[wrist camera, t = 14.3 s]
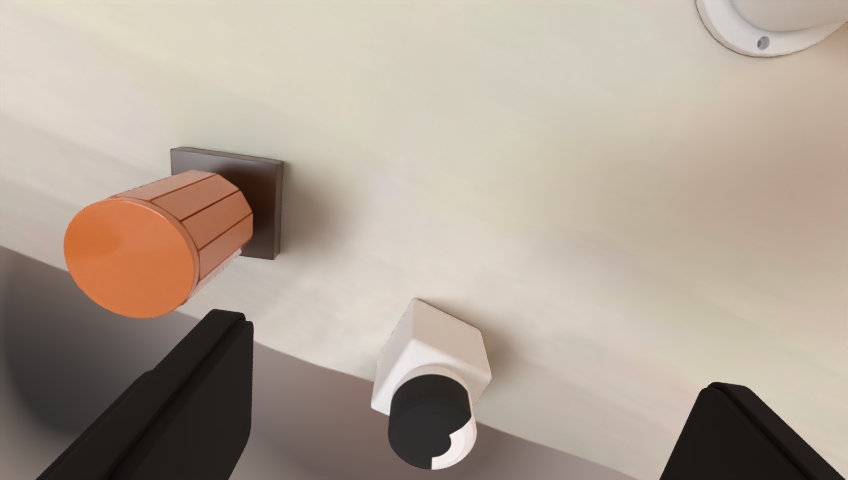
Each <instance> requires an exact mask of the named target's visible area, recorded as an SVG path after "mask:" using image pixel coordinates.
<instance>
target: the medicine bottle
mask: <svg viewBox="0 0 848 480" xmlns="http://www.w3.org/2000/svg"><path fill="white" fill-rule="evenodd" d="M491 379H492V375H491V371H490V367H489V363H488V359H487V355H486V351H485V347H484V343H483V339H482V336H481V332H480V330H479V329H477V328H475V327H473V326H471V325H468V324H466V323H464V322H462V321H460V320H458V319H456V318H454V317H452V316H450V315H448V314H446V313H444V312H442V311H440V310H438V309H436V308H434V307H432V306H430V305H428V304H426V303H424V302H422V301H420V300H418V299H413V300H412V301H411V303H410V304H409V306H408V308H407V309H406V311H405V313H404V314H403V316H402V318H401V319H400V321H399V323H398V324H397V326H396V328H395V329H394V331H393V333H392V334H391V336H390V338H389V339H388V341H387V343H386V344H385V346H384V348H383V349H382V351H381V353H380V354H379V357H378V363H377V369H376V375H375V382H374V388H373V395H372V401H371V407H372V408H373V409H375V410H377V411H379V412H382V413H384V414H386V415H388V416H389V427H388V438H389V442H390V445H391V447H392V449H393V450H394V452H395V453H396V454H397V455H398V456H399V457H400V458H401V459H403V460H404V461H405V462H407V463H409V464H410V465H412V466H415V467H418V468H423V469H442V468H446V467H448V466H451V465H453V464H455V463H457V462H459V461H460V460H462V459H463V458H464V457H465V456H466V455H467V454H468V453H469V452H470V450H471V449H472V447H473V445H474V443H475V440H476V433H477V430H476V424H475V418H474V412H473V405H474V404H475V402H476V401H477V399H478V398H479V397H480V395H481V394H482V392H483V391H484V389H485V388H486V387H487V385H488V384H489V382H490V381H491Z"/></svg>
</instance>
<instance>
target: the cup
mask: <svg viewBox="0 0 848 480" xmlns="http://www.w3.org/2000/svg"><path fill="white" fill-rule="evenodd" d="M238 190H239V188H237V187H236V186H234V185H233V184H232V183H230V182H229V181H227V180H226V179H224V178H223V177H221V176H220V175H219V174H218V175H216V173H210V172H203V171H195V170H191V171H190V170H189V171H186V172H183V173H180V174H177V175H174V176H171V177H168V178H165V179H162V180H159V181H156V182H153V183H150V184H147V185H144V186H141V187H138V188H135V189H132V190H129V191H126V192H122V193H119V194H116V195H113V196H111V197H109V198H106V199H104V200H102V201H99V202H96V203H93V204H91V205H89V206H87V207H85V208H84V209H82V210H81V211H80V212H79V213H78V214H77V215H76V216H75V217H74V218H73V219H72V221H71V222H70V224H69V226H68V228H67V230H66V234H65V237H64V256H65V261H66V264H67V267H68V269H69V271H70V273H71V275H72V277H73V279H74V280H75V282H76V283H77V285H78V286H79V287H80V288H81V289H82V291H83V292H84V293H85V294H86V295H87V296H88V297H90V298H91V299H92V300H93V301H95V302H96V303H98V304H99V305H101V306H102V307H104V308H106V309H108V310H110V311H112V312H115V313H117V314H120V315H124V316H129V317H134V318H152V317H157V316H161V315H164V314H167V313H169V312H171V311H173V310H174V309H176V308H177V307H179V306H181V305H183V304H185V303H186V302H187V301H188V300H189V299H190V298H192V297H193V296H194V295H195V294H196V293H197V292H198V291H199V290H201V289H202V288H203V287H204V286H205V285H206V284H207V283H208V282H209V281H211V280H212V279H213V278H214V277H215V276H216V275H217V274H218V273H220V272H221V271H222V270H223V269H224V268H225V267H226V266H227V265H229V264H230V263H231V262H232V261H233V260H234V259H235V258H236V257H237V256H239V255H240V254H241V252H242V251H243V249H244V248H245V247H246V245H247V244H248V242H249V241H250V239H251V238H252V237H251V236H252V235H253V214H252V213H251V212H252V210H251V208H250V206H249V205H248V203H247V201H246V199H245V197H244V196H243V194H242V192H241V191H238Z"/></svg>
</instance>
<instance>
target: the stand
mask: <svg viewBox="0 0 848 480" xmlns="http://www.w3.org/2000/svg"><path fill="white" fill-rule="evenodd" d="M170 151H171V172H172V176H174V175H177V174H180V173H183V172H186V171H189V170H190V171H191V170H195V171H203V172H210V173H216V175H218V174H219V175H220V176H221V177H223V178H224V179H226V180H227V181H229V182H230V183H232V184H233V185H234V186H236V187H237V188H239V190H238V191H241V192H242V194H243V196H244V197H245V199H246V201H247V203H248V205H249V206H250V208H251V210H252V212H251V213H252V214H253V235H252V236H251V237H252V238H251V239H250V241H249V242H248V244H247V245H246V247H245V248H244V249H243V251H242V252H241V254H240V255H239V256H246V257H253V258H261V259H269V260H274V259H275V258H276V257H277V256H278V255H279V253H280V228H281V201H282V175H283V161H279V160H272V159H265V158H258V157H251V156H244V155H237V154H230V153H223V152H215V151H208V150H201V149H194V148H187V147H178V148H174V149H171V150H170Z"/></svg>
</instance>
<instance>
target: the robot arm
mask: <svg viewBox="0 0 848 480" xmlns="http://www.w3.org/2000/svg"><path fill="white" fill-rule="evenodd" d="M696 4H697V9H698V11H699V14H700V16H701V18H702V20H703V23H704V25H705V26H706V27H707V29H708V30H709V31H710V33H711V34H712V35H713V37H714V38H715V39H717V40H718V41H719V42H720V43H722V44H723V45H724V46H725V47H727V48H729V49H731V50H733V51H735V52H737V53H740V54H744V55H749V56H753V57H771V56H778V55H786V54H790V53H793V52H797V51H800V50H804V49H806V48H808V47H810V46H812V45H814V44H816V43H818V42H820V41H822V40H823V39H824V38H826V37H827V36H829V35H830V34H832V33H833V32H834V31H836V30H837V29H838V28H839V27H841V26H842V25H843V24H844V23H845V22H846V21H848V0H696ZM253 334H254V327H253V323H252V322H251V321H246V318H245V315H244V314H243V313H240V312H233V311H226V310H219V309H213V310H211V311H210V312H209V313H208V314H207V315H206V316H205V317H204V318H203V319H202V320H201V321H200V322H199V323H198V324H197V325H196V326H195V327H194V328H193V329H192V330H191V331H190V332H189V333H188V334H187V336H185V337H184V338H183V339H182V340H181V341H180V342H179V343H178V344H177V345H176V346H175V348H174V349H173V350H172V351H171V352H170V353H169V354H168V355H167V356H166V357H165V358H164V359H163V360H162V361H161V362H160V363H159V364H158V365H157V366H156V367H155V368H154V369H153V370H150V371H147V372H145V373H144V374H142V375H141V376H140V377H139V378H137V379H136V380H135V381H134V382H133V384H132V385H130V386H129V388H127V389H126V390H125V391H124V392H123V393H122V394H121V395H120V396H119V397H118V398H117V399H116V400H115V401H114V402H113V403H112V404H111V405H110V406H109V407H108V408H107V409H106V410H105V411H104V412H103V413H102V414H101V415H100V416H99V417H98V418H97V419H96V420H95V421H94V422H93V423H92V424H91V425H90V426H89V427H88V428H87V429H86V430H85V431H84V432H83V433H82V434H81V435H80V436H79V437H78V438H77V439H76V440H75V441H74V442H73V443H72V444H71V445H70V446H69V447H68V448H67V449H66V450H65V451H64V452H63V453H62V454H61V455H60V456H59V457H58V458H57V459H56V460H55V461H54V462H53V463H52V464H51V465H50V466H49V467H48V468H47V469H46V470H45V471H44V472H43V473H42V474H41V475H40V476H39V477H38V478H37V479H36V480H228V479H229V477H230V475H231V474H232V472H233V470H234V468H235V466H236V464H237V462H238V460H239V458H240V456H241V454H242V452H243V450H244V448H245V446H246V444H247V441H248V438H249V435H250V430H251V409H252V408H251V407H252V371H253V369H252V368H253ZM660 480H845V479H844V478H843V477H842V476H841V475H840V474H839V473H838V472H837V471H836V470H835V469H834V468H833V467H832V466H831V465H830V464H828V463H827V462H826V461H825V460H824V459H823V458H822V457H821V456H820V455H819V454H818V453H817V452H816V451H815V450H814V449H813V448H812V447H811V446H810V445H808V444H807V443H806V442H805V441H804V440H803V439H802V438H801V437H800V436H799V435H798V434H797V433H796V432H795V431H794V430H793V429H792V428H791V427H789V426H788V425H787V424H786V423H785V422H784V421H783V420H782V419H781V418H780V417H779V416H778V415H777V414H776V413H775V412H774V411H773V410H772V409H771V408H769V407H768V406H767V405H766V404H765V403H764V402H763V401H762V400H761V399H760V398H759V397H758V396H757V395H756V394H755V393H754V392H753V391H752V390H750V389H749V388H747V387H745V386H742V385H735V384H728V383H721V382H713V383H711V384H710V385H708V387H707V388H704V389H702V390H701V392H700V393H699V395H698V397H697V399H696V402H695V404H694V406H693V408H692V410H691V412H690V415H689V417H688V419H687V421H686V423H685V425H684V428H683V430H682V432H681V434H680V436H679V438H678V441H677V443H676V445H675V447H674V449H673V451H672V454H671V456H670V458H669V460H668V462H667V465H666V467H665V469H664V471H663V473H662V475H661V478H660Z"/></svg>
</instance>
